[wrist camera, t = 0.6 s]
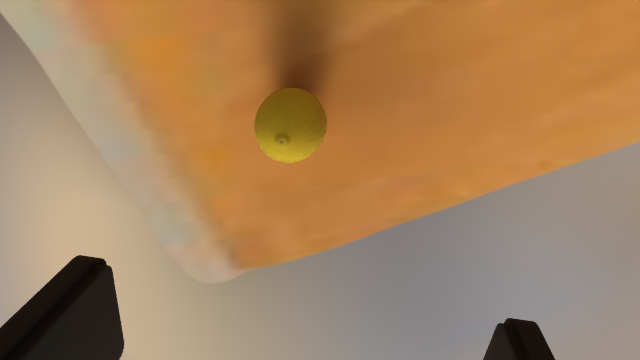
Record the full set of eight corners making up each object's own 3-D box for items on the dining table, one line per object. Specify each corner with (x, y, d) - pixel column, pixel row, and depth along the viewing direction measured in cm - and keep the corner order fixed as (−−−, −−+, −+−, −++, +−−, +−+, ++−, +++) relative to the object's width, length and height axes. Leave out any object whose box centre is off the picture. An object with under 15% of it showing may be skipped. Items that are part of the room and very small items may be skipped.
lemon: (332, 81, 34) (323, 107, 27) (327, 142, 37) (318, 182, 29) (267, 75, 35) (241, 100, 27) (267, 137, 37) (243, 174, 30)
